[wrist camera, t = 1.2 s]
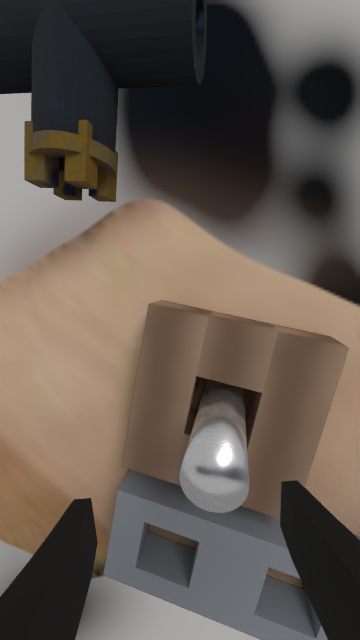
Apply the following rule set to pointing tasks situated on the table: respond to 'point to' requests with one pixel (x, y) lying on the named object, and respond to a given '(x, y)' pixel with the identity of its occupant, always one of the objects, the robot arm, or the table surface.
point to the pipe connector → (91, 77)
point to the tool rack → (208, 561)
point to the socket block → (238, 370)
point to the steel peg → (217, 451)
